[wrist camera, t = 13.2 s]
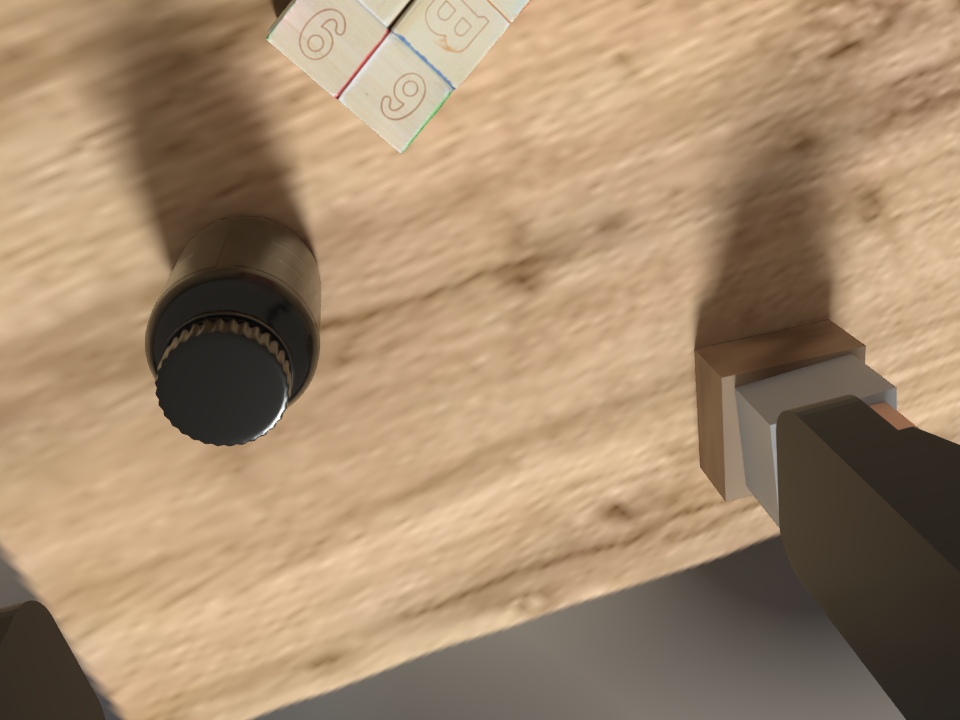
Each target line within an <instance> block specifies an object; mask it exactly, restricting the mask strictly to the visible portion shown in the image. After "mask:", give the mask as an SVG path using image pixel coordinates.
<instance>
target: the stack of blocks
mask: <svg viewBox="0 0 960 720" xmlns="http://www.w3.org/2000/svg"><path fill="white" fill-rule="evenodd" d="M530 1H531V0H291V2H290V3H289V4H288V6H287V7H286V8H285V9H284V11H283V12H282V13H281V14H280V16H279V17H278V18H277V19H276V21H275V22H274V23H273V24H272V26H271V27H270V29H269V30H268V32H269V33H270V34H269V35H268V36H267V39H266V40H267V41H268V42H270V43H271V44H272V45H273V46H274V47H275V48H277V49H278V50H279V51H280V52H281V53H282V54H283V55H285V56H286V57H287V58H288V59H289V60H290V61H292V62H293V63H294V64H295V65H296V66H297V67H299V68H300V69H301V70H302V71H303V72H305V73H306V74H307V75H308V76H309V77H310V78H312V79H313V80H314V81H315V82H316V83H317V84H318V85H320V86H321V87H322V88H323V89H324V90H325V91H327V92H328V93H329V94H330V95H331V96H332V97H335V98H337V99H338V100H339V101H340V102H341V103H342V104H344V105H345V106H346V107H347V108H348V109H349V110H350V111H352V112H353V113H354V114H355V115H356V116H357V117H359V118H360V119H361V120H362V121H363V122H364V123H366V124H367V125H368V126H369V127H370V128H371V129H373V130H374V131H375V132H376V133H377V134H378V135H380V136H381V137H382V138H383V139H384V140H386V141H387V142H388V143H389V144H390V145H391V146H392V147H394V148H395V149H396V150H397V151H398V152H400V153H402V152H403V151H404V150H405V149H406V148H407V147H408V146H409V145H410V144H411V142H412V141H413V140H414V139H415V137H416V136H417V135H418V134H419V133H420V131H421V130H422V129H423V128H424V126H425V125H426V124H427V123H428V121H429V120H430V119H431V118H432V117H433V116H434V114H435V113H436V112H437V111H438V110H439V108H440V107H441V106H442V105H443V103H444V102H445V101H446V99H447V98H448V97H449V95H450V94H451V92H452V91H453V90H454V89H457V88H458V87H459V86H460V85H461V84H462V82H463V81H464V80H465V79H466V78H467V76H468V75H469V74H470V73H471V72H472V70H473V69H474V68H475V67H476V65H477V64H478V63H479V62H480V61H481V59H482V58H483V57H484V56H485V55H486V53H487V52H488V51H489V50H490V48H491V47H492V46H493V45H494V44H495V42H496V41H497V40H498V39H499V38H500V36H501V35H502V34H503V33H504V32H505V30H506V29H507V28H508V26H509V25H510V24H511V23H512V22H513V21H514V20H515V19H516V18H517V17H518V16H519V15H520V13H521V12H522V10H523V9H524V8H525V7H526V6H527V5H528V4H529V2H530Z"/></svg>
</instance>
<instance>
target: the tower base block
mask: <svg viewBox="0 0 960 720" xmlns="http://www.w3.org/2000/svg"><path fill="white" fill-rule="evenodd" d="M865 349H866V346H865V345H864V344H863V343H861V342H860V341H858V340H857V339H856V338H854V337H853V336H851V335H850V334H849V333H847V332H846V331H844V330H843V329H842V328H840V327H839V326H837V325H836V324H835V323H833V322H832V321H830V320H825V321H820V322H816V323H811V324H807V325H802V326H798V327H793V328H788V329H784V330H779V331H775V332H770V333H766V334H761V335H757V336H752V337H748V338H743V339H738V340H734V341H729V342H725V343H720V344H716V345H711V346H707V347H702V348H698V349H694V351H695V372H696V392H697V412H698V432H699V453H700V467H701V469H702V470H703V472H704V473H705V474H706V476H707V477H708V478H709V480H710V481H711V482H712V484H713V485H714V486H715V488H716V489H717V491H718V492H719V493H720V495H721V496H722V497H723V499H724V500H725V501H726V502H727V501H731V500H735V499H739V498H744V497H748V496H752V495H753V494H752V493H751V492H750V490H749V489H748V488H747V487H746V480H745V472H744V463H743V455H742V446H741V438H740V429H739V421H738V412H737V404H736V395H735V388H736V387H740V386H743V385H746V384H750V383H753V382H757V381H760V380H763V379H767V378H770V377H773V376H777V375H780V374H783V373H787V372H790V371H793V370H797V369H800V368H803V367H807V366H810V365H814V364H817V363H820V362H824V361H827V360H830V359H834V358H837V357H840V356H844V355H847V354H850V353H851V354H853V355H854V356H855V357H857V358H858V359H859V360H861V361H862V362H863V363H865Z"/></svg>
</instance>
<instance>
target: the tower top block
mask: <svg viewBox="0 0 960 720" xmlns="http://www.w3.org/2000/svg"><path fill="white" fill-rule="evenodd" d="M735 395H736V404H737V412H738V421H739V429H740V438H741V446H742V455H743V463H744V472H745V480H746V487H747V488H748V489H749V490H750V492H751V493H752V494H753V495H754V497H755V498H756V499H757V500H758V502H759V503H760V504H761V505H762V507H763V508H764V509H765V510H766V512H767V513H768V514H769V516H770V517H771V518H772V519H773V521H774V522H775V523H776V524H777V526H778V527H779V506H778V478H777V449H776V424H777V419H778V416H779V415H780V413H781V412H783V411H786V410H790V409H794V408H797V407H801V406H805V405H809V404H813V403H817V402H821V401H825V400H829V399H833V398H837V397H841V396H845V395H854V396H856V397H858V398H859V399H861V400H862V401H863V402H865V403H866V404H867V405H868V406H869V405H874V404H878V403H882V402H887V403H888V404H889V405H890V406H892V407H893V408H894V409H895V410H896V411H897V398H896V387H895V386H894V385H892V384H891V383H890V382H889V381H887V380H886V379H885V378H883V377H882V376H881V375H879V374H878V373H877V372H875V371H874V370H873V369H871V368H870V367H869V366H867V365H866V364H865V363H863V362H862V361H861V360H859V359H858V358H857V357H855V356H854V355H853V354H851V353H850V354H847V355H844V356H840V357H837V358H834V359H830V360H827V361H824V362H820V363H817V364H814V365H810V366H807V367H803V368H800V369H797V370H793V371H790V372H787V373H783V374H780V375H777V376H773V377H770V378H767V379H763V380H760V381H757V382H753V383H750V384H746V385H743V386H740V387H736V388H735ZM779 528H780V527H779Z"/></svg>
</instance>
